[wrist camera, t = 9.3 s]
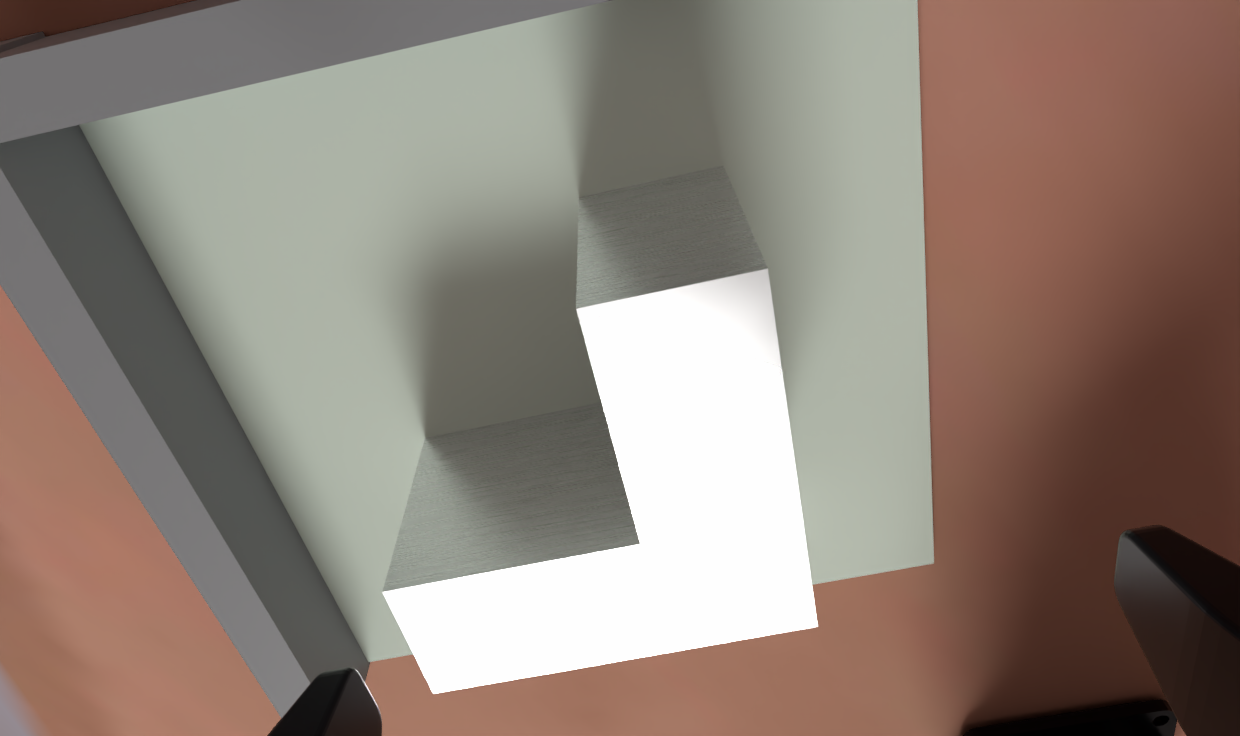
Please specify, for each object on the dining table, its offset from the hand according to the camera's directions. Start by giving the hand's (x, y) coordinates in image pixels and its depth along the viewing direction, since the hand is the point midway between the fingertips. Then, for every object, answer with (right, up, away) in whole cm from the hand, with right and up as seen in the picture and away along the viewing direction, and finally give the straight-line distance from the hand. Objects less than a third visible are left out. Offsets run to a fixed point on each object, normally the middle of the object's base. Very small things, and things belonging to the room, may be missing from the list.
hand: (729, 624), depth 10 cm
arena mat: (-2, +3, +10) cm, 11 cm away
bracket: (-2, +3, +10) cm, 10 cm away
